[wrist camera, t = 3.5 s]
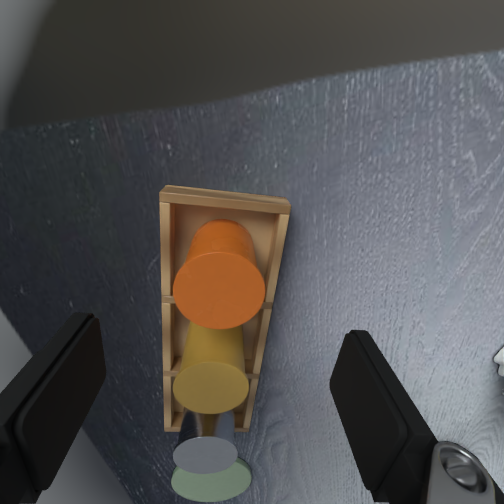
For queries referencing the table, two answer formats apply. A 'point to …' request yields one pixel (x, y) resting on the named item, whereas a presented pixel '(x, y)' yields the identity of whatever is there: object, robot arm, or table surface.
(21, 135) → the table surface
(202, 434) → the disc
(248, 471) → the coaster
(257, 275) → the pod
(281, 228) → the pod holder
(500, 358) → the rabbit figurine
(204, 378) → the cylinder
